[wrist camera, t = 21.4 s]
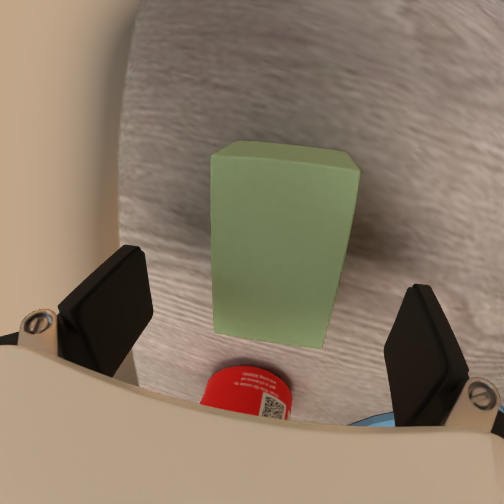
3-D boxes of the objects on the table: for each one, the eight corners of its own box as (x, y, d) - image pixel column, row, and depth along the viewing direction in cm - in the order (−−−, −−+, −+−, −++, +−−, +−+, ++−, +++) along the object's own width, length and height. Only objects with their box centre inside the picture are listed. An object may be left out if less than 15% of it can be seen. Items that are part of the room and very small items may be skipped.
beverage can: (249, 344, 19) (196, 521, 9) (311, 389, 20) (292, 543, 10) (195, 376, 22) (140, 510, 11) (253, 413, 23) (222, 538, 13)
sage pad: (237, 140, 13) (210, 154, 10) (347, 151, 12) (361, 170, 9) (233, 285, 17) (213, 333, 13) (321, 297, 16) (321, 349, 13)
